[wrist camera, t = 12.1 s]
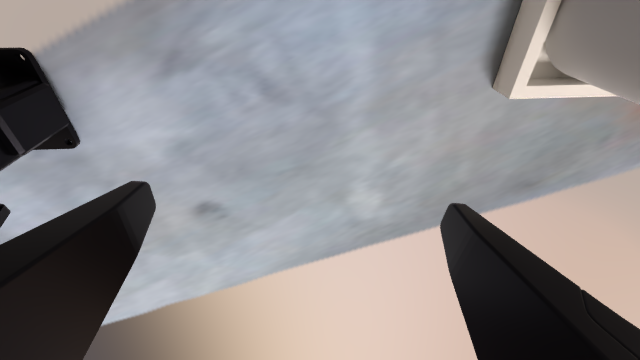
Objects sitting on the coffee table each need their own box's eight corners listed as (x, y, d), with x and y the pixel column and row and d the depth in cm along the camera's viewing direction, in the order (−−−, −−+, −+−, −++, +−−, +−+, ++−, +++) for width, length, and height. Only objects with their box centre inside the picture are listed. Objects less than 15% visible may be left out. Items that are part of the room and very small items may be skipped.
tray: (492, 88, 20) (509, 98, 19) (560, -109, 15) (592, -118, 13) (628, 84, 21) (655, 95, 19) (746, -108, 15) (800, -117, 13)
